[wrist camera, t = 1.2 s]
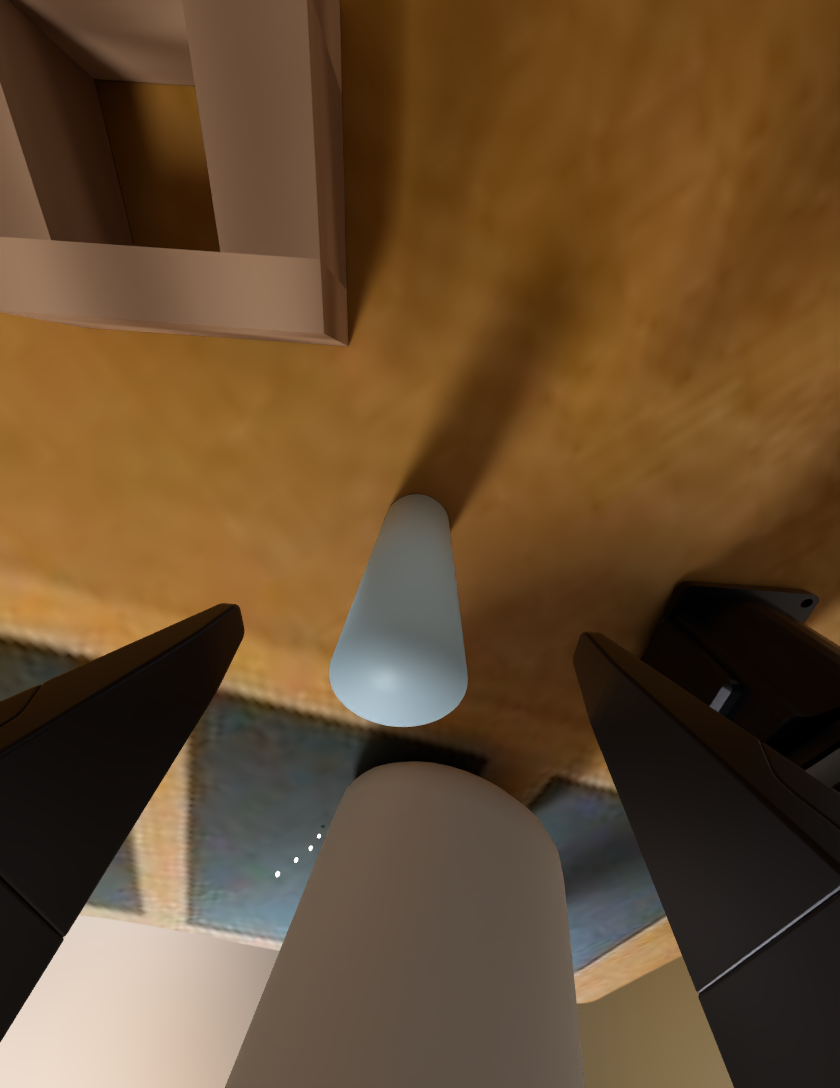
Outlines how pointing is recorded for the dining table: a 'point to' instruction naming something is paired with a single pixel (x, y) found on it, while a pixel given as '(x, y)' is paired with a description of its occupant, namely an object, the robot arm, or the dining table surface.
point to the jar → (423, 947)
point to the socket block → (231, 153)
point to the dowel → (404, 624)
